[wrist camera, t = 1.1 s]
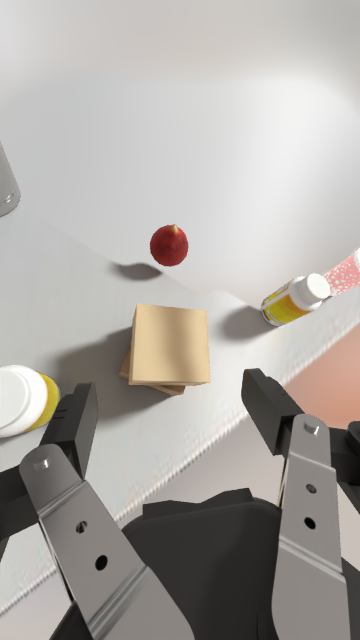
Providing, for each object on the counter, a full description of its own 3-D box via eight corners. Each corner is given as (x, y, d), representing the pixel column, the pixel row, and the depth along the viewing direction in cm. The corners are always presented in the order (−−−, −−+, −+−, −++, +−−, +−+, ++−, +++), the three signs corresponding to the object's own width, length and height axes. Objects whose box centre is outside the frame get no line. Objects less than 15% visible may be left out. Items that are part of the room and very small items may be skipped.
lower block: (118, 376, 32) (119, 371, 28) (139, 324, 36) (144, 312, 31) (173, 395, 33) (183, 394, 29) (188, 343, 37) (200, 334, 32)
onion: (187, 260, 41) (203, 228, 34) (168, 282, 39) (181, 253, 32) (160, 239, 41) (171, 203, 34) (139, 259, 39) (146, 226, 32)
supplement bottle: (287, 330, 42) (337, 308, 33) (259, 322, 41) (302, 298, 32) (286, 302, 44) (333, 274, 35) (259, 294, 43) (301, 263, 34)
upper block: (128, 384, 28) (132, 380, 23) (132, 319, 30) (137, 303, 26) (194, 385, 30) (210, 382, 25) (193, 324, 32) (206, 310, 28)
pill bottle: (58, 369, 30) (33, 350, 20) (66, 419, 29) (43, 426, 19) (0, 382, 28) (-59, 369, 18) (5, 438, 27) (-56, 456, 17)
